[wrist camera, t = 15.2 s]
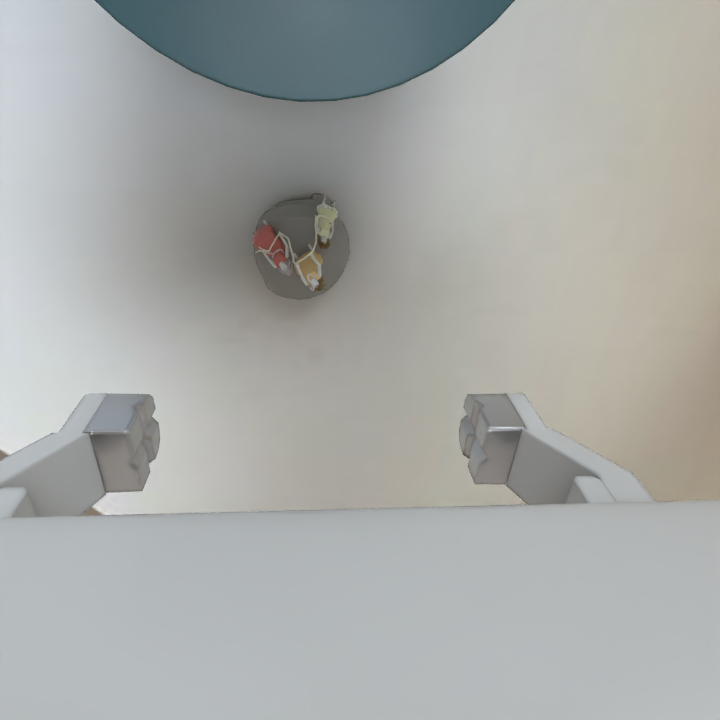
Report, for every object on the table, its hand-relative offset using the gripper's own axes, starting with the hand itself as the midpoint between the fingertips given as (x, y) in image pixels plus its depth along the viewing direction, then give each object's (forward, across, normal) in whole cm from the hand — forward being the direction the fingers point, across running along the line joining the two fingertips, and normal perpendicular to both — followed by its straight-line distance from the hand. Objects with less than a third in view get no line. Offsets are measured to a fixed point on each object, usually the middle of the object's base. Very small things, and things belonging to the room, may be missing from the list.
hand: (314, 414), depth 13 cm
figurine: (+14, +1, -1) cm, 14 cm away
